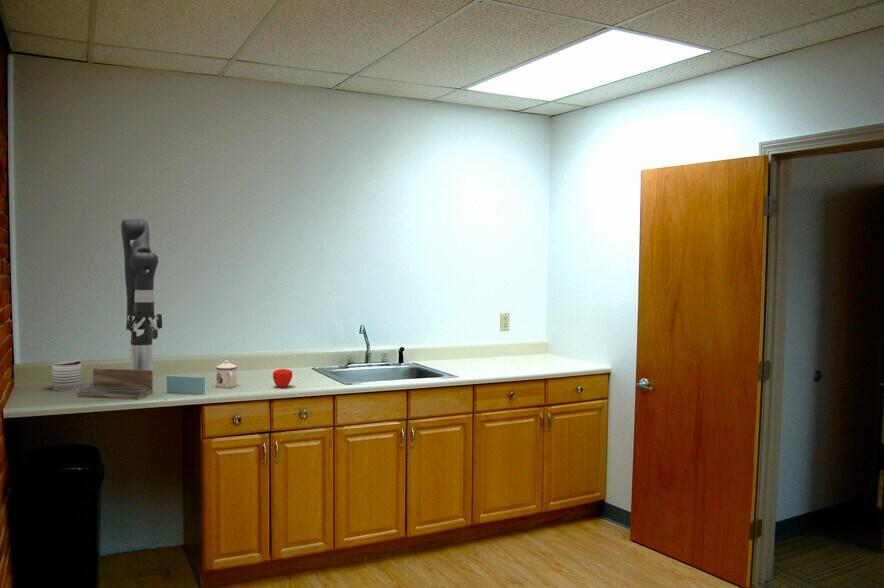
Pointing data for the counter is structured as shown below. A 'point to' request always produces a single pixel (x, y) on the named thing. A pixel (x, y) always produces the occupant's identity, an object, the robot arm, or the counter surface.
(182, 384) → the sliding panel
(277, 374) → the apple
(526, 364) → the counter surface
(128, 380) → the brown wooden stand
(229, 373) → the teacup with lid
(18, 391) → the counter surface
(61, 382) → the can
